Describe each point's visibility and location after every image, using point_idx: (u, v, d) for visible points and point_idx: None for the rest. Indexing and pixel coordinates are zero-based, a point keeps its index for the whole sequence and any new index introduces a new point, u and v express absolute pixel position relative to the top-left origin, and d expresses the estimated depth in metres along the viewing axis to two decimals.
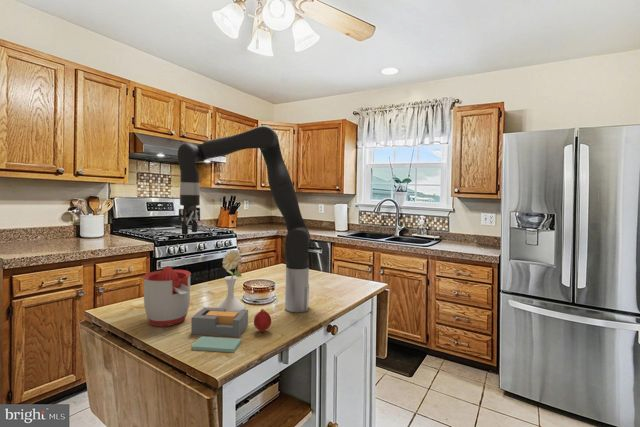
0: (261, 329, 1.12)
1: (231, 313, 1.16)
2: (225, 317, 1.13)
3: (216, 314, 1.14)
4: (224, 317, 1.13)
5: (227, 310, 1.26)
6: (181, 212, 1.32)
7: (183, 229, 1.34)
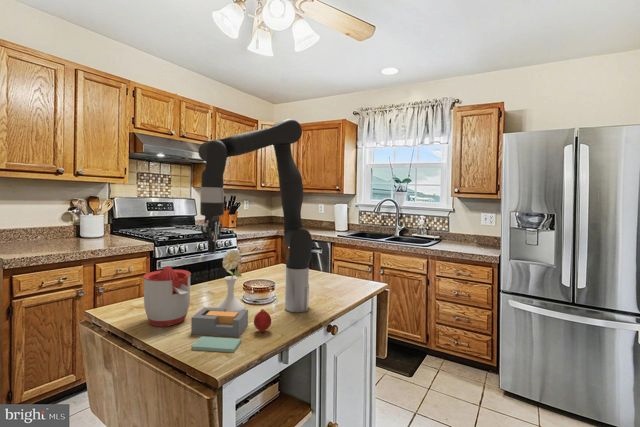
0: (261, 329, 1.12)
1: (231, 313, 1.16)
2: (225, 317, 1.13)
3: (216, 314, 1.14)
4: (224, 317, 1.13)
5: (227, 310, 1.26)
6: (204, 231, 1.08)
7: (210, 246, 1.13)
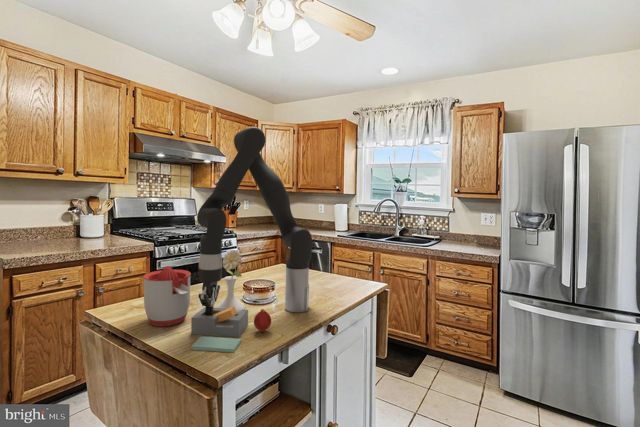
0: (261, 329, 1.12)
1: (227, 309, 1.16)
2: (222, 314, 1.13)
3: None
4: (221, 315, 1.13)
5: None
6: (202, 299, 1.10)
7: (207, 311, 1.14)
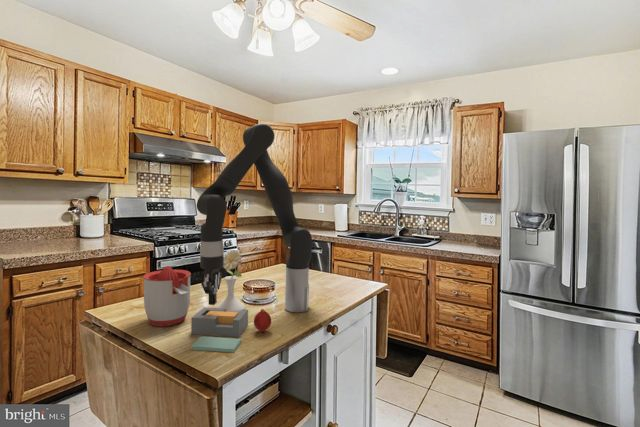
0: (261, 329, 1.12)
1: (231, 313, 1.16)
2: (225, 317, 1.13)
3: (216, 314, 1.14)
4: (224, 317, 1.13)
5: (227, 310, 1.26)
6: (205, 286, 1.09)
7: (210, 299, 1.14)
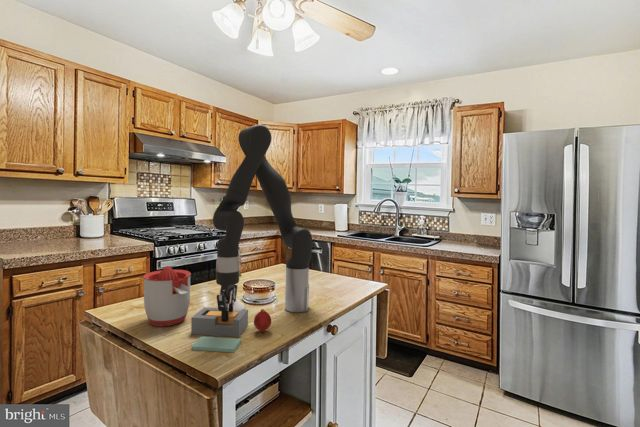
0: (261, 329, 1.12)
1: (231, 313, 1.16)
2: None
3: (216, 314, 1.14)
4: None
5: None
6: (220, 300, 1.09)
7: (223, 316, 1.12)
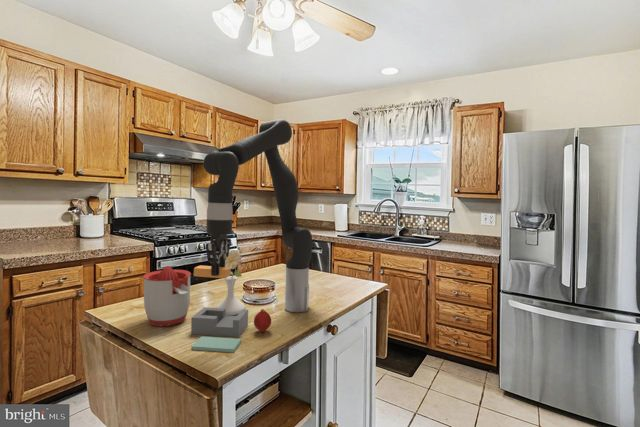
0: (261, 329, 1.12)
1: (222, 268, 1.04)
2: None
3: (205, 268, 1.03)
4: None
5: (227, 310, 1.26)
6: (209, 249, 0.97)
7: (213, 269, 1.00)
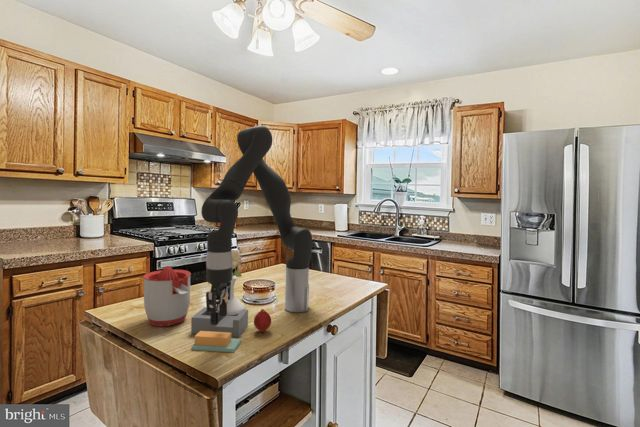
0: (261, 329, 1.12)
1: (223, 334, 1.04)
2: (216, 339, 1.01)
3: (206, 336, 1.02)
4: (215, 339, 1.01)
5: (227, 310, 1.26)
6: (209, 298, 0.96)
7: (212, 318, 0.98)
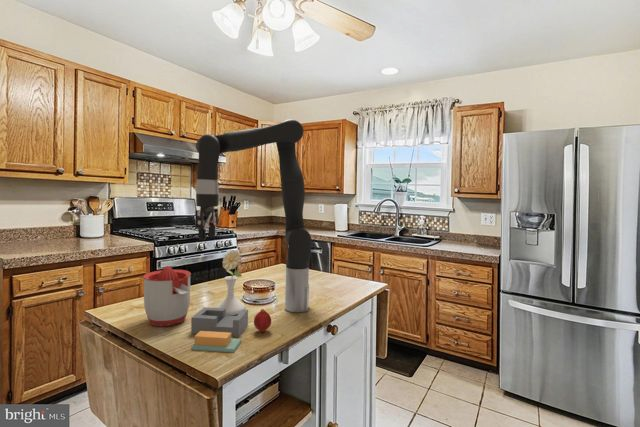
0: (261, 329, 1.12)
1: (223, 334, 1.04)
2: (216, 339, 1.01)
3: (206, 336, 1.02)
4: (215, 339, 1.01)
5: (227, 310, 1.26)
6: (198, 214, 1.13)
7: (200, 234, 1.15)
